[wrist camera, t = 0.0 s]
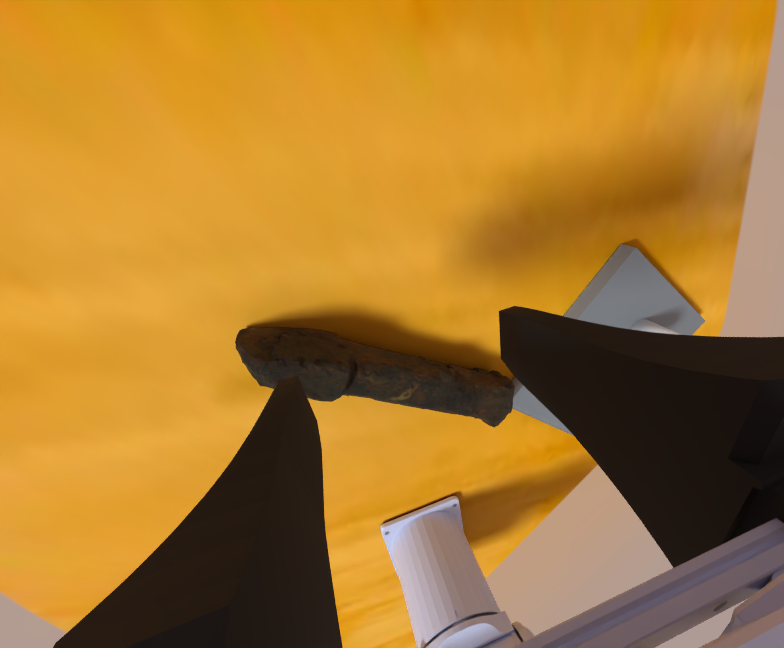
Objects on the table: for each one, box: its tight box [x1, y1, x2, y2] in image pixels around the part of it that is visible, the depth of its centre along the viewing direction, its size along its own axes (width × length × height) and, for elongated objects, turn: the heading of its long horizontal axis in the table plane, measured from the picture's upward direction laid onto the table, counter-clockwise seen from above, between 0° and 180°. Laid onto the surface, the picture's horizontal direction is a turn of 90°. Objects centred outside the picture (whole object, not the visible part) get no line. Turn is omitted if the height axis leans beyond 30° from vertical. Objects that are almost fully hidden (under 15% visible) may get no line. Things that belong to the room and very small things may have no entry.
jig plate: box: [512, 244, 705, 435], centre depth 27 cm, size 15×13×4 cm
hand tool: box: [235, 327, 515, 427], centre depth 21 cm, size 19×4×5 cm, turn 64°
